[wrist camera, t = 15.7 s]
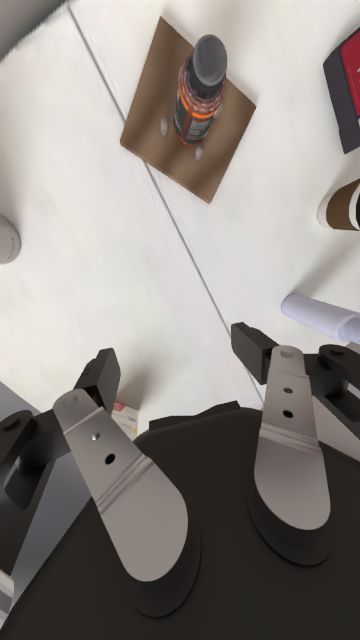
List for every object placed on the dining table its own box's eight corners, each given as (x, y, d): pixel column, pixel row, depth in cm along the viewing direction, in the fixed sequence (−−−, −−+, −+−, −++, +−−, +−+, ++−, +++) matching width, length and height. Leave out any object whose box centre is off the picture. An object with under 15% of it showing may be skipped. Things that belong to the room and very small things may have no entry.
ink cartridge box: (103, 411, 51) (85, 470, 37) (112, 399, 50) (98, 455, 36) (129, 422, 53) (123, 480, 40) (139, 410, 53) (135, 466, 39)
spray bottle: (283, 293, 46) (389, 327, 26) (304, 294, 47) (422, 327, 27) (277, 315, 48) (370, 363, 28) (297, 315, 49) (401, 362, 29)
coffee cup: (360, 205, 41) (437, 189, 30) (324, 248, 43) (384, 247, 32) (334, 168, 38) (411, 135, 26) (296, 217, 40) (353, 204, 29)
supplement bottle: (213, 134, 31) (244, 77, 21) (184, 155, 32) (201, 110, 21) (196, 91, 29) (222, 4, 19) (165, 115, 30) (173, 42, 19)
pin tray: (120, 144, 31) (117, 132, 28) (160, 25, 27) (161, -7, 23) (208, 203, 36) (215, 199, 33) (252, 111, 32) (265, 94, 29)
